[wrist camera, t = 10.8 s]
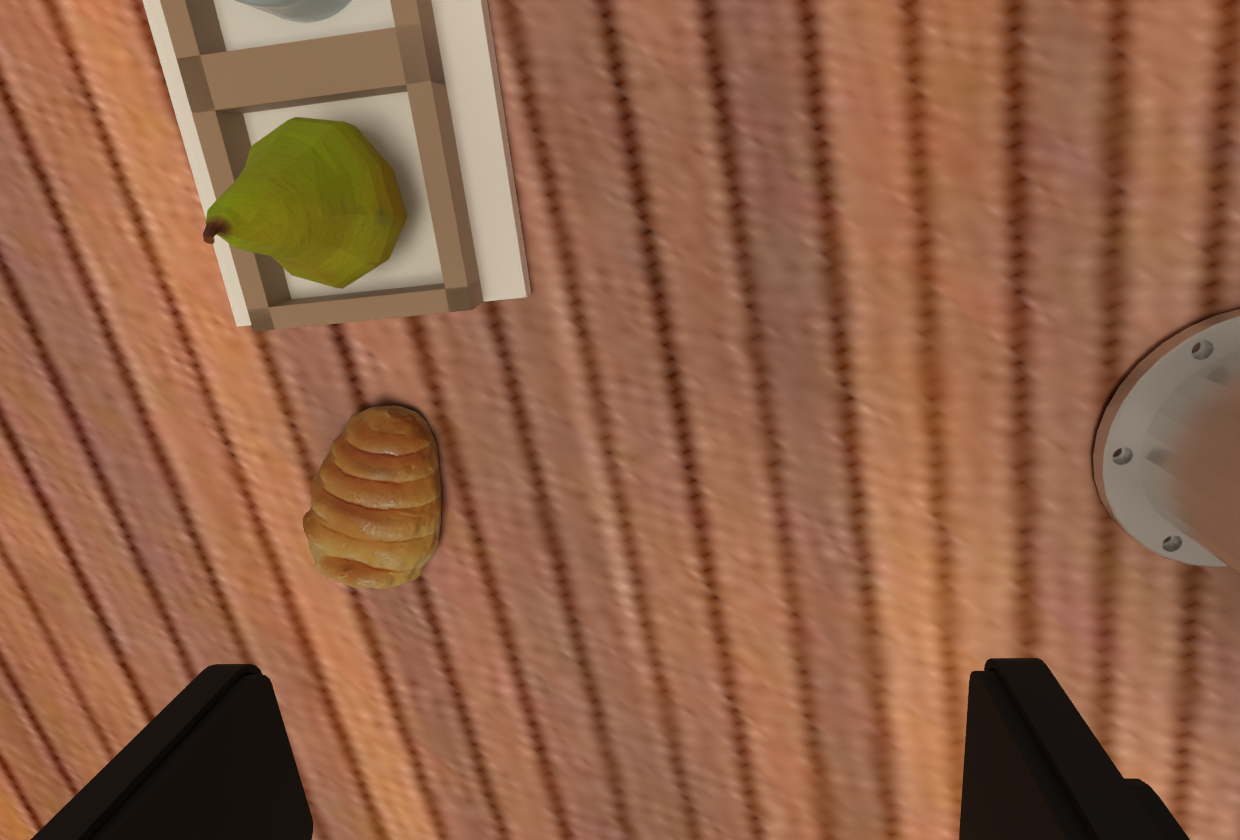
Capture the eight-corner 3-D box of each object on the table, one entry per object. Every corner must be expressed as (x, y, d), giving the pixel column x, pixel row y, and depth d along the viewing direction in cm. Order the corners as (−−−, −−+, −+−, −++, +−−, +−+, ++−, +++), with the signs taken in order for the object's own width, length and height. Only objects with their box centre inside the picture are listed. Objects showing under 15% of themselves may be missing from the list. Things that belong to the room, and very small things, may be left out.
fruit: (284, 114, 31) (57, 85, 19) (426, 132, 31) (282, 112, 19) (290, 265, 33) (90, 318, 22) (423, 282, 33) (292, 344, 21)
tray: (451, -235, 27) (423, -284, 24) (531, 292, 34) (517, 305, 31) (111, -173, 29) (45, -213, 26) (251, 321, 35) (211, 336, 32)
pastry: (338, 382, 36) (302, 406, 33) (468, 418, 36) (446, 445, 33) (316, 541, 39) (281, 578, 36) (436, 572, 40) (413, 613, 36)
